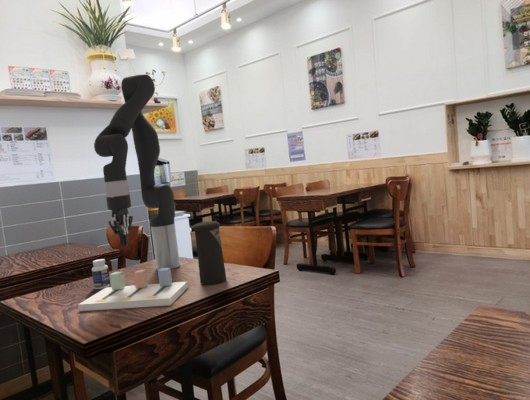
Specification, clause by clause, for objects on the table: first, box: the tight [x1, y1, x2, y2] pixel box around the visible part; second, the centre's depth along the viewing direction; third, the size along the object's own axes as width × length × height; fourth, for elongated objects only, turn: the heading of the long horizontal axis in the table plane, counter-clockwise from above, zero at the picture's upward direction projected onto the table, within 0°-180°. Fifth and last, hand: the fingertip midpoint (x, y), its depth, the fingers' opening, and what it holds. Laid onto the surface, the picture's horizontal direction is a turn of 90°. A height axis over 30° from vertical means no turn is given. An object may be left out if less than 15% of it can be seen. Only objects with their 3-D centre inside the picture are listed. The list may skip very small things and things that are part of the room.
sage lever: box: [109, 270, 126, 290], centre depth 130 cm, size 3×3×5 cm
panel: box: [77, 281, 189, 312], centre depth 124 cm, size 16×28×2 cm, turn 83°
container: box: [192, 220, 227, 286], centre depth 134 cm, size 9×9×20 cm
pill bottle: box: [91, 258, 111, 290], centre depth 143 cm, size 5×5×10 cm
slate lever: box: [157, 268, 173, 286], centre depth 128 cm, size 3×3×5 cm
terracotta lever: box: [133, 269, 149, 288], centre depth 129 cm, size 3×3×5 cm
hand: (124, 245), depth 137 cm, fingers closed
